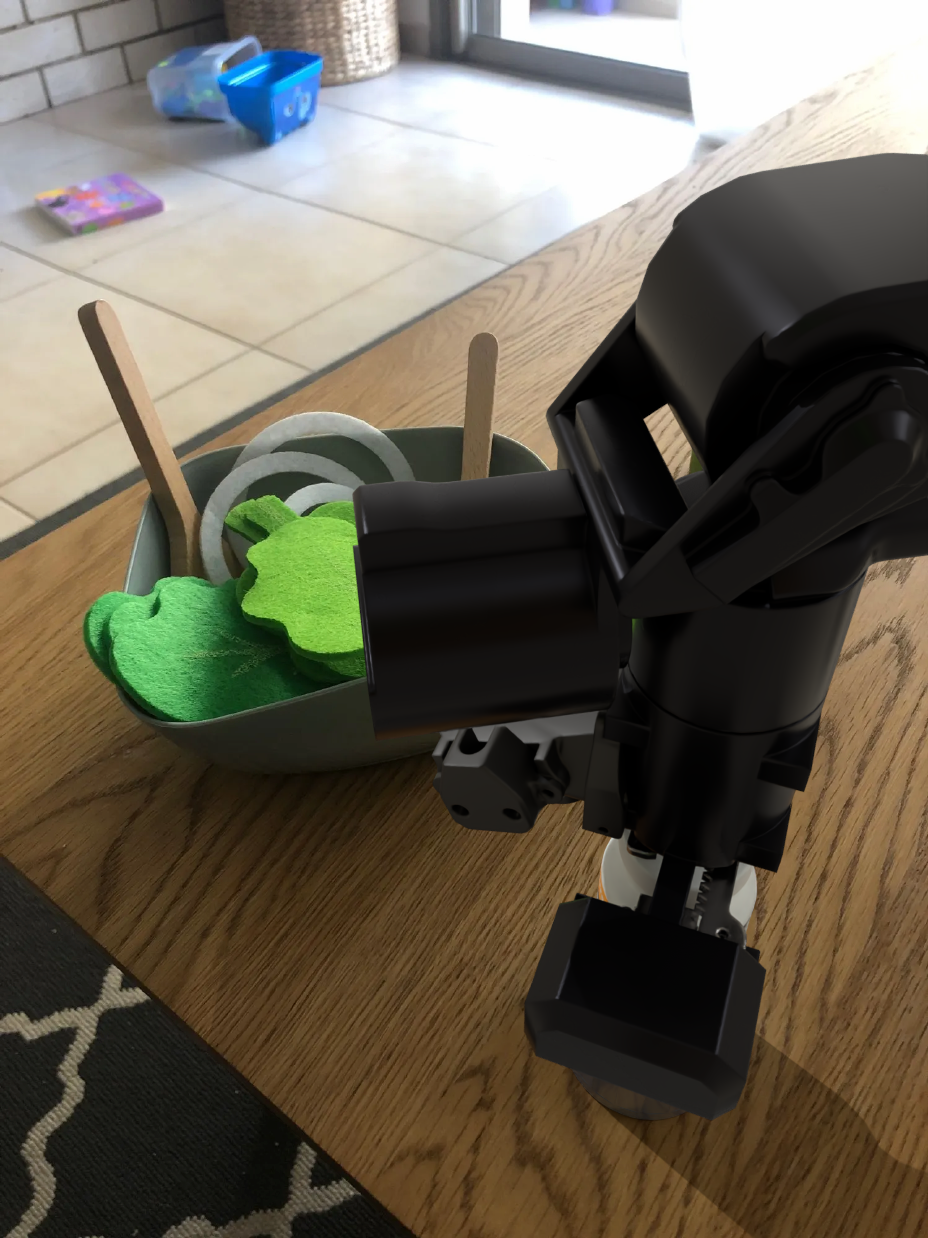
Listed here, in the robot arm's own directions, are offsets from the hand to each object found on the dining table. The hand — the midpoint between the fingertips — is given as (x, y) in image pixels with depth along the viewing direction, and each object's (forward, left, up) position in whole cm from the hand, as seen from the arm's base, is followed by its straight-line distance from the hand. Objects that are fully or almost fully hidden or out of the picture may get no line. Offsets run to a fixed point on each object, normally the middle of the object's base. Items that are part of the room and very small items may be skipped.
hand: (667, 932), depth 40 cm
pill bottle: (0, 0, -3) cm, 3 cm away
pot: (0, 0, -10) cm, 10 cm away
